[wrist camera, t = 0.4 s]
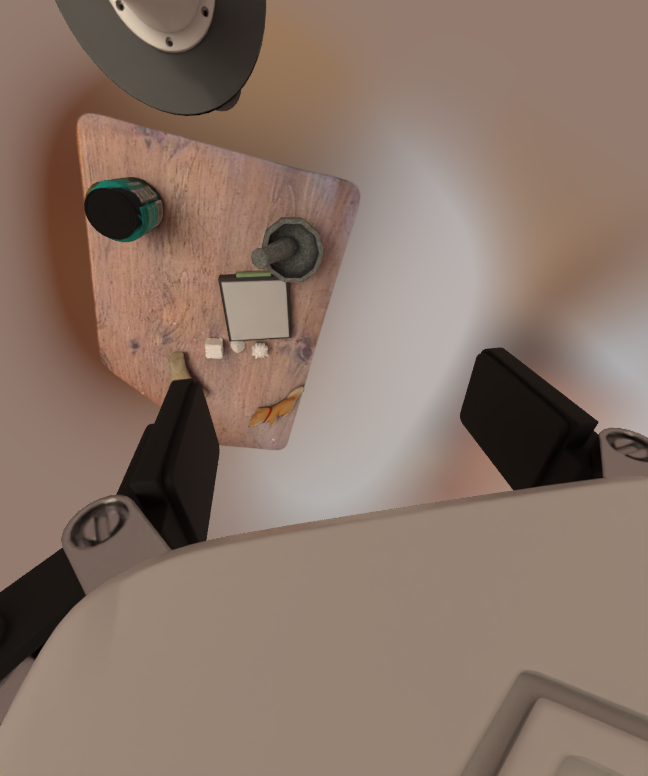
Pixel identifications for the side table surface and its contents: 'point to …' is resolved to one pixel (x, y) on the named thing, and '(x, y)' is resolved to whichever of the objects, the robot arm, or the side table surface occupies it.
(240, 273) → the scale
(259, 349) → the game pieces
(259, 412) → the toy
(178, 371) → the tan bone
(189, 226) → the side table surface
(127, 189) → the beverage can
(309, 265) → the mortar and pestle
